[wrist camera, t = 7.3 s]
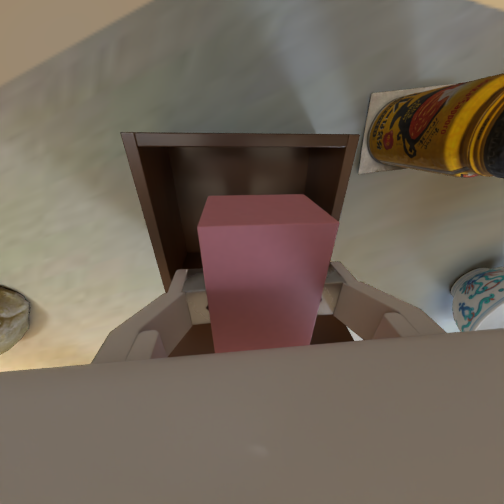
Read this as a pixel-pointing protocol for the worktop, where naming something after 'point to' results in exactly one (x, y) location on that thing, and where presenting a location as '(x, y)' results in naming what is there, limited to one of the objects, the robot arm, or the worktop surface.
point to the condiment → (437, 129)
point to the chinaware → (479, 300)
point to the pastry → (12, 318)
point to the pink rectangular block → (264, 268)
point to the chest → (228, 179)
